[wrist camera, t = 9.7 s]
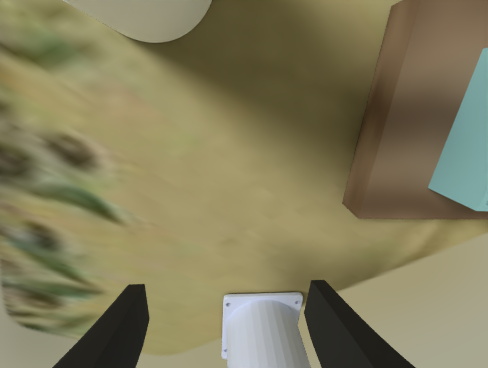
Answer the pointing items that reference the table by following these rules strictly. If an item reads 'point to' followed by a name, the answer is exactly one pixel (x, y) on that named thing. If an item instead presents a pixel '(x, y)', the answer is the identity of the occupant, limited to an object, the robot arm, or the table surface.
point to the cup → (146, 16)
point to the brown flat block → (415, 109)
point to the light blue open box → (467, 147)
